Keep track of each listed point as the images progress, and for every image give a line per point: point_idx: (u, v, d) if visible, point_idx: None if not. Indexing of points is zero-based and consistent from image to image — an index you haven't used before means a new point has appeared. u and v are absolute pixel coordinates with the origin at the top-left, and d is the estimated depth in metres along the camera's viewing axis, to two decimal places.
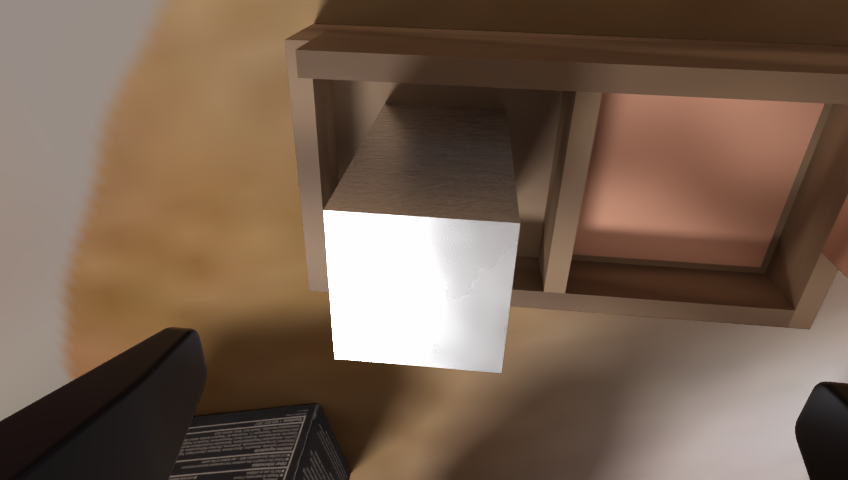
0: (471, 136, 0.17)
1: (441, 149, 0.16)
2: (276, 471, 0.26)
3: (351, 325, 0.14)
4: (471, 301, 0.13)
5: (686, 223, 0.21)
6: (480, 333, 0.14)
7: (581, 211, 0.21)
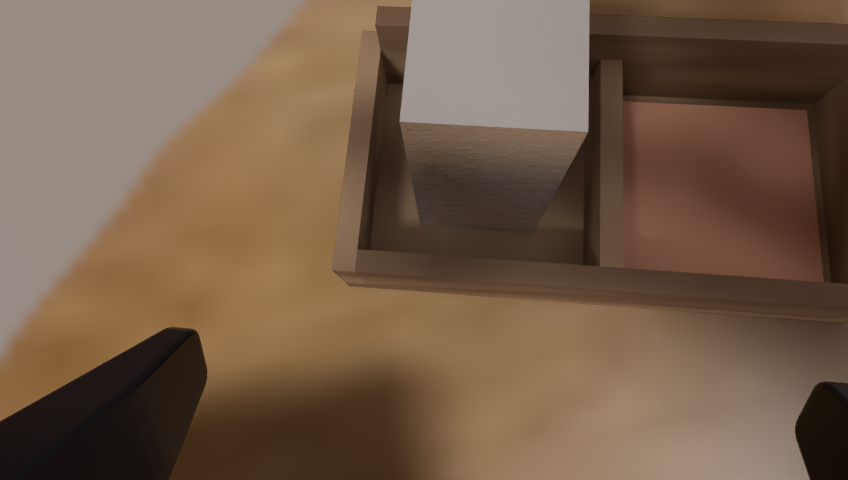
0: None
1: None
2: None
3: (424, 77, 0.13)
4: (550, 46, 0.13)
5: (728, 234, 0.21)
6: (561, 82, 0.13)
7: None
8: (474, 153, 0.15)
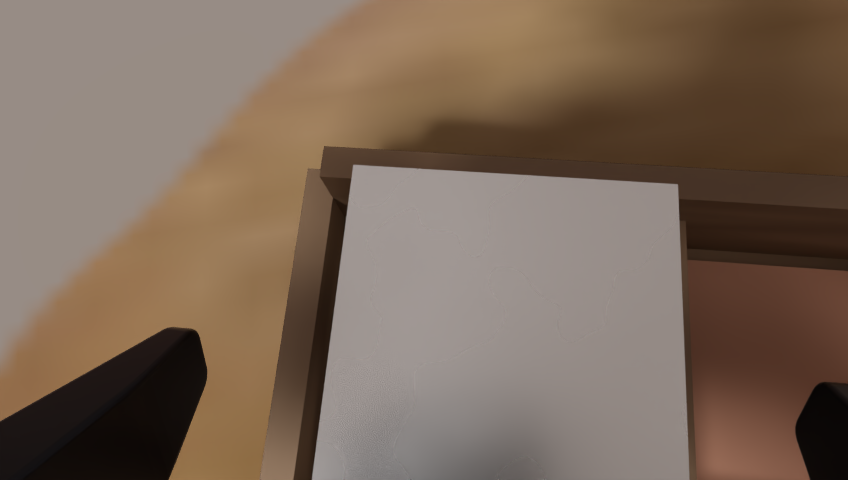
0: None
1: None
2: None
3: (361, 408, 0.07)
4: (607, 344, 0.07)
5: None
6: (632, 428, 0.07)
7: None
8: None
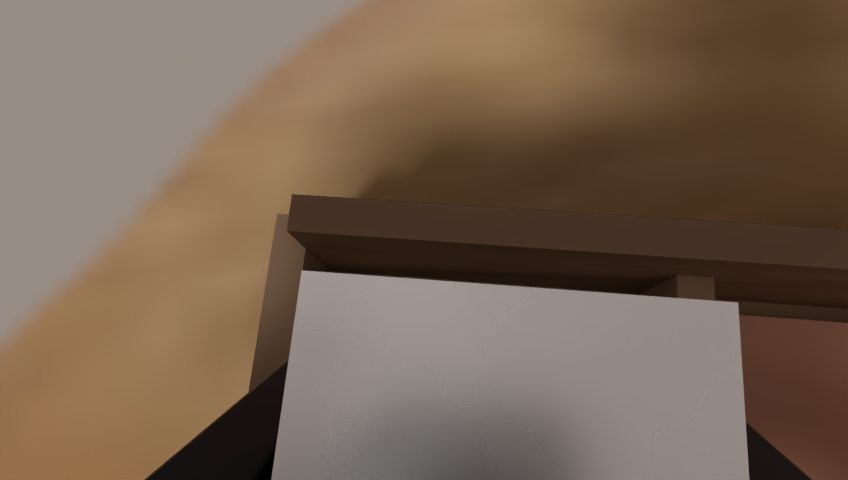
0: None
1: None
2: None
3: None
4: None
5: None
6: None
7: None
8: None
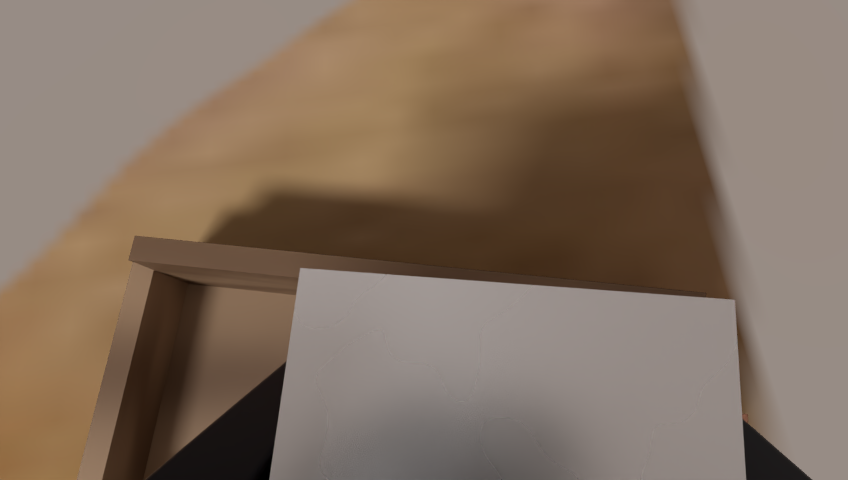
0: None
1: None
2: None
3: None
4: None
5: None
6: None
7: None
8: None
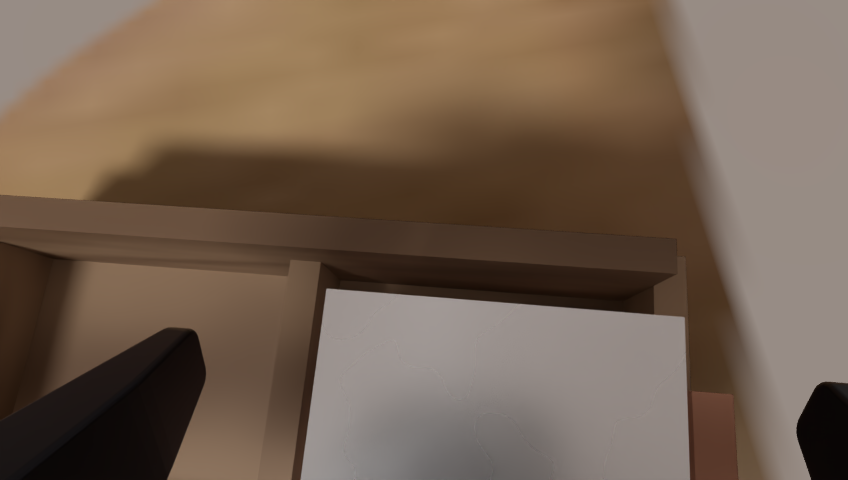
0: None
1: None
2: None
3: None
4: None
5: None
6: None
7: None
8: None
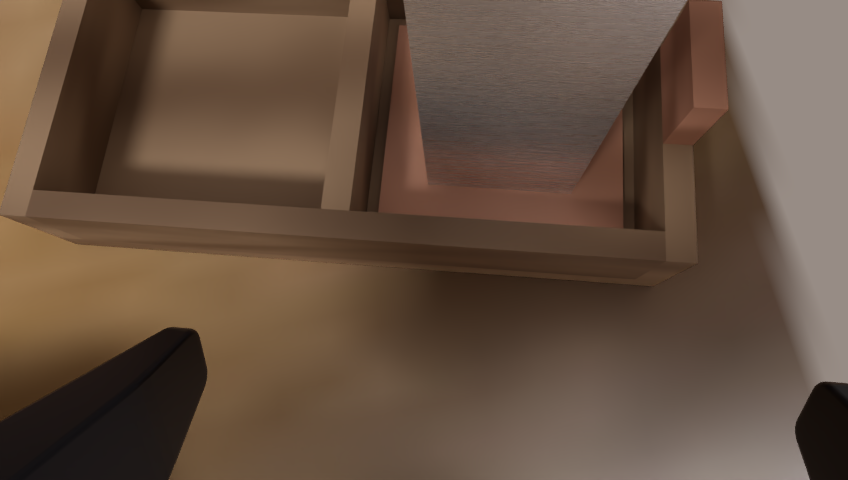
0: None
1: None
2: None
3: None
4: None
5: None
6: None
7: (388, 164, 0.18)
8: (509, 49, 0.10)
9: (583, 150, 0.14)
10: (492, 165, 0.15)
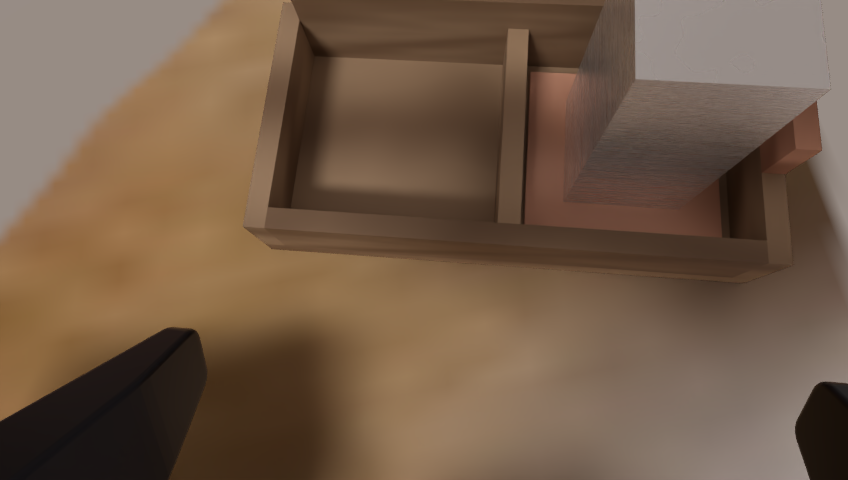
0: None
1: None
2: None
3: (656, 36, 0.13)
4: (781, 6, 0.13)
5: None
6: (797, 40, 0.13)
7: (530, 185, 0.22)
8: (687, 116, 0.15)
9: (706, 179, 0.18)
10: (626, 188, 0.20)
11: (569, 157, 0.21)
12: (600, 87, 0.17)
